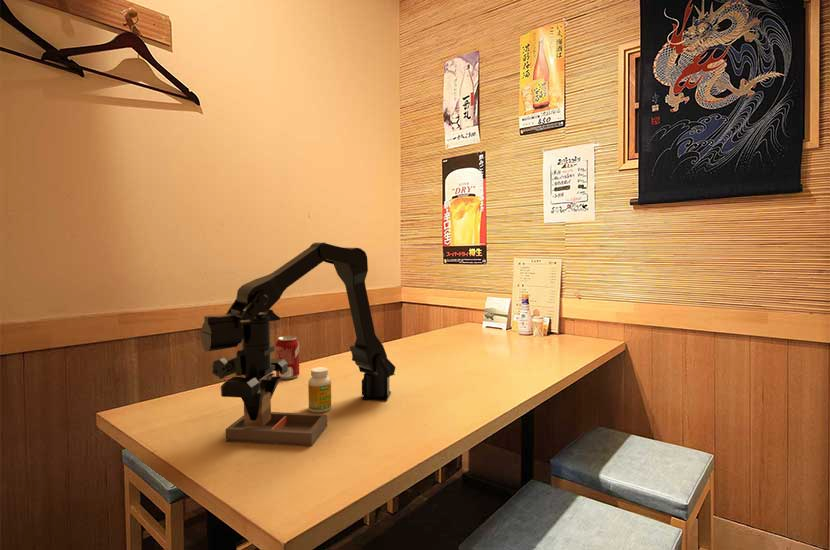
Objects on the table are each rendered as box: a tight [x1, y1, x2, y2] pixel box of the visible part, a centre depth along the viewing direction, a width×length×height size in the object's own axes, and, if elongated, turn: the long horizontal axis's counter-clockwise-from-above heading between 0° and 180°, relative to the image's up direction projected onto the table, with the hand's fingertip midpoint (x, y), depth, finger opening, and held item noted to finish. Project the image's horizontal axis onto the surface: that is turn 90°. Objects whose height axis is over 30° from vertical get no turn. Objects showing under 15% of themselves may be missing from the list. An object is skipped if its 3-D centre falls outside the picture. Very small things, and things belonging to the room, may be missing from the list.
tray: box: [225, 411, 328, 447], centre depth 95 cm, size 18×10×3 cm, turn 83°
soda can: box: [274, 335, 300, 381], centre depth 135 cm, size 7×7×12 cm
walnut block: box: [243, 392, 272, 427], centre depth 95 cm, size 4×4×6 cm
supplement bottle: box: [307, 366, 332, 413], centre depth 109 cm, size 5×5×10 cm
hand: (258, 416), depth 96 cm, fingers closed on walnut block, 4 cm apart
